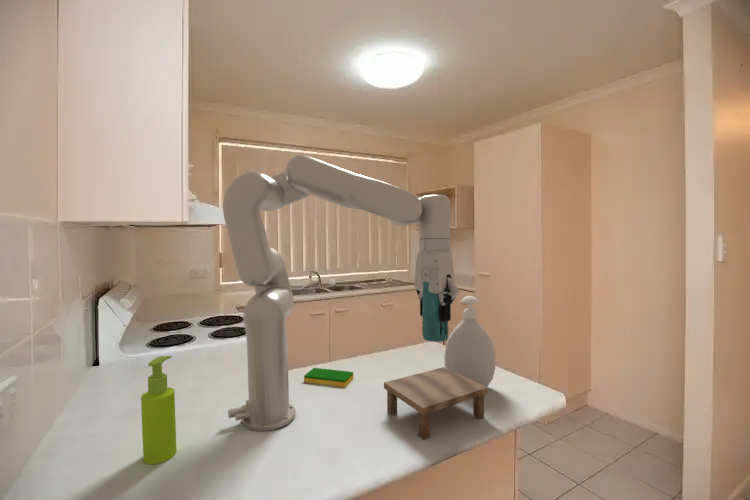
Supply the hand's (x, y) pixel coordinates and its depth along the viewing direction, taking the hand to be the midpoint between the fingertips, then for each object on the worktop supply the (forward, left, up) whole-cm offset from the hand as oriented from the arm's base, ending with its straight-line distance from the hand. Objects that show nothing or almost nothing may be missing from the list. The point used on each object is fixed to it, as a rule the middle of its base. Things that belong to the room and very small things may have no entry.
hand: (434, 317), depth 89 cm
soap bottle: (+20, +8, -25) cm, 33 cm away
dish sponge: (-14, +34, -25) cm, 45 cm away
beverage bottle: (0, 0, -7) cm, 7 cm away
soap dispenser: (-59, +17, -25) cm, 66 cm away
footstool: (0, 0, -24) cm, 24 cm away
